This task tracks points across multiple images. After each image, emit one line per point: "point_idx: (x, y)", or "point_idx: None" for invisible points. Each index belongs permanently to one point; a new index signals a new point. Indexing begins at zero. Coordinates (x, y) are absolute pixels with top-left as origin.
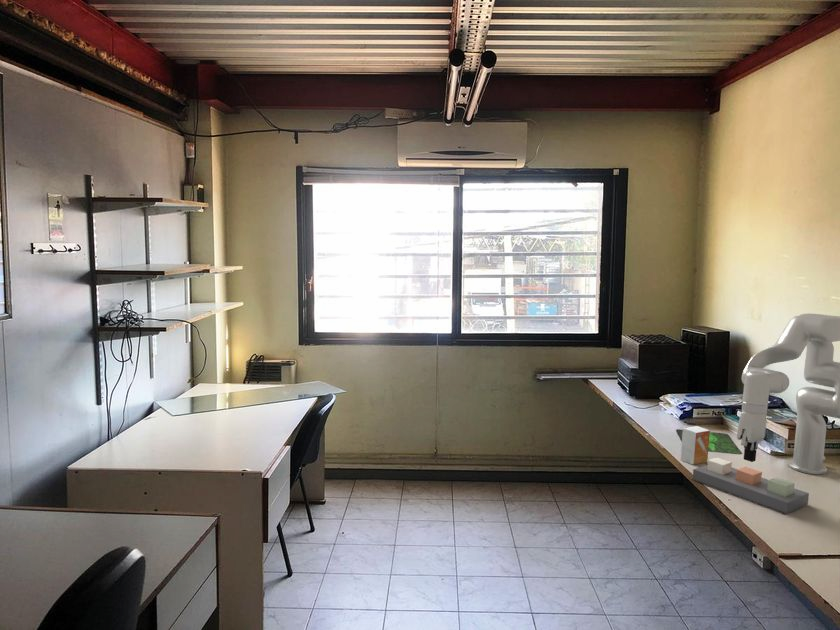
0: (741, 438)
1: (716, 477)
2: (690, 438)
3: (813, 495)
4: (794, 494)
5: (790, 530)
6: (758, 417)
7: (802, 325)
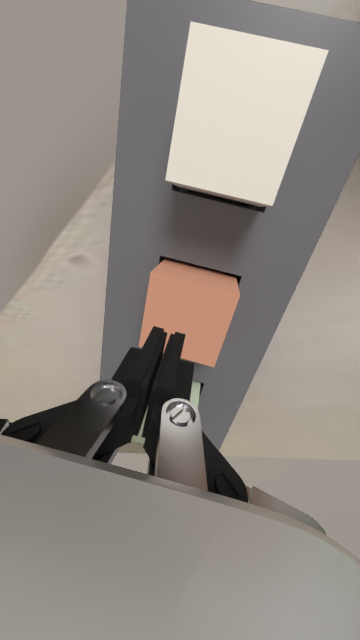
0: (11, 450)
1: (115, 177)
2: None
3: (307, 429)
4: None
5: (42, 402)
6: None
7: None
